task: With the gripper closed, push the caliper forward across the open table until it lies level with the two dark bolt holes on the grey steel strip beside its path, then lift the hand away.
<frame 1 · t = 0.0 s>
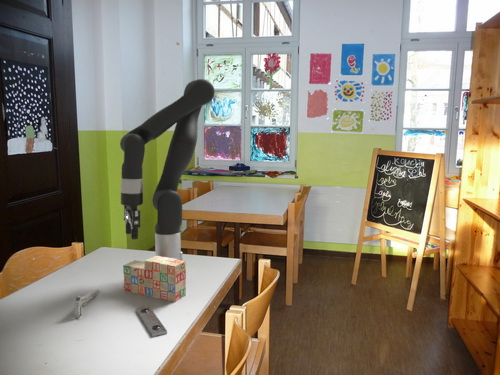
hand: (131, 236, 145), 17 cm above the table, tool pointing down, fingers open, 8 cm apart
bolt strip: (150, 321, 118), on the table
stack of blocks: (154, 293, 138), on the table
caliper: (88, 305, 129), on the table
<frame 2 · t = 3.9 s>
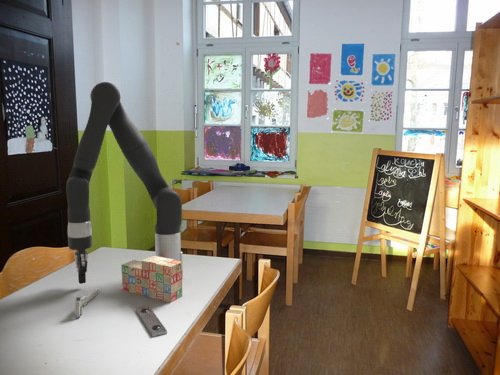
hand: (82, 282, 141), 2 cm above the table, tool pointing down, fingers closed
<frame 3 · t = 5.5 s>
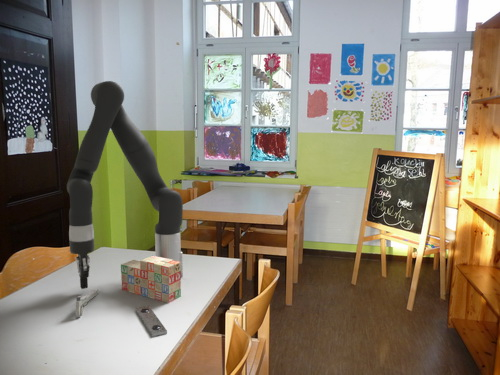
hand: (84, 287, 137), 2 cm above the table, tool pointing down, fingers closed
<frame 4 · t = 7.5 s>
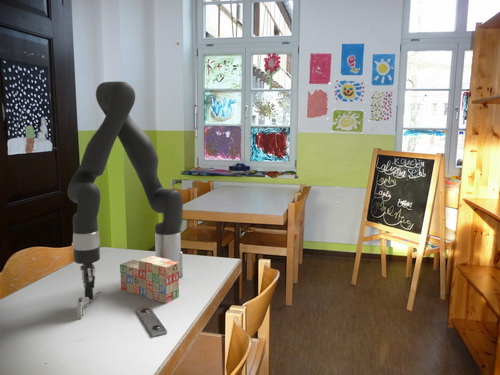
hand: (89, 299, 128), 2 cm above the table, tool pointing down, fingers closed
caliper: (90, 306, 129), on the table, touching gripper
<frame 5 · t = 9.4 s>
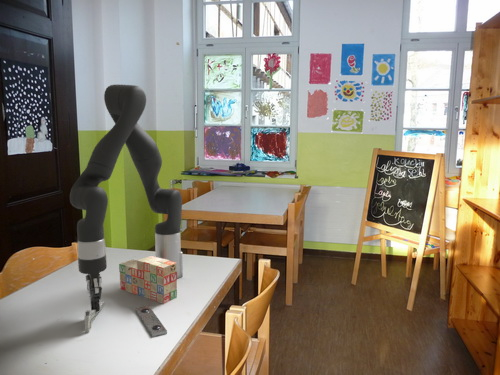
hand: (95, 310, 119), 2 cm above the table, tool pointing down, fingers closed
caliper: (96, 319, 121), on the table, touching gripper
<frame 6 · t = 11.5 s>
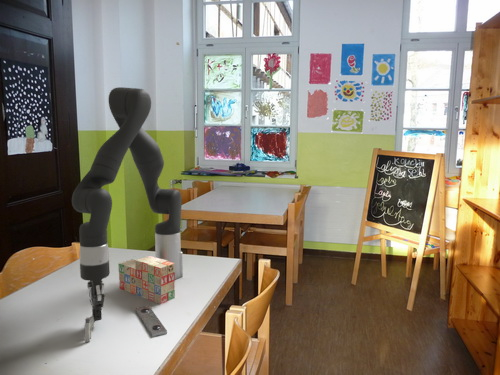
hand: (97, 319, 114), 2 cm above the table, tool pointing down, fingers closed
caliper: (94, 326, 116), on the table
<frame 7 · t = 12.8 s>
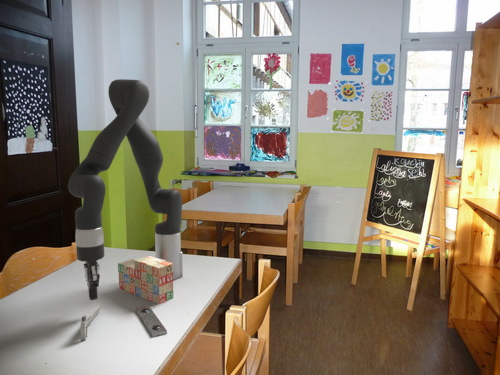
hand: (93, 298, 121), 5 cm above the table, tool pointing down, fingers closed
caliper: (92, 324, 117), on the table
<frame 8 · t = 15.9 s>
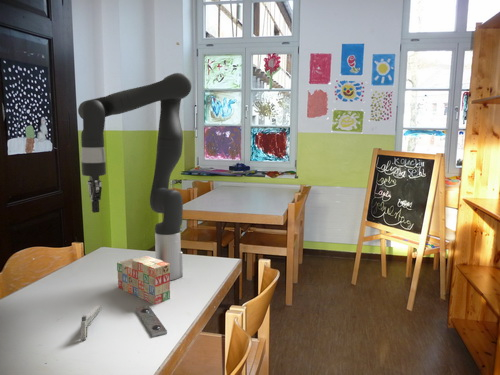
hand: (95, 212, 138), 27 cm above the table, tool pointing down, fingers closed
at the end: caliper inside the target area (5.1 cm from its centre), on the table; caliper moved 13.9 cm from its start; the gripper is holding nothing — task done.
